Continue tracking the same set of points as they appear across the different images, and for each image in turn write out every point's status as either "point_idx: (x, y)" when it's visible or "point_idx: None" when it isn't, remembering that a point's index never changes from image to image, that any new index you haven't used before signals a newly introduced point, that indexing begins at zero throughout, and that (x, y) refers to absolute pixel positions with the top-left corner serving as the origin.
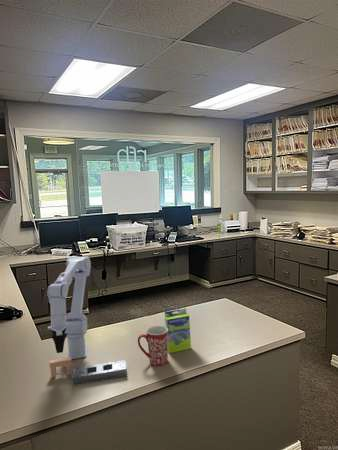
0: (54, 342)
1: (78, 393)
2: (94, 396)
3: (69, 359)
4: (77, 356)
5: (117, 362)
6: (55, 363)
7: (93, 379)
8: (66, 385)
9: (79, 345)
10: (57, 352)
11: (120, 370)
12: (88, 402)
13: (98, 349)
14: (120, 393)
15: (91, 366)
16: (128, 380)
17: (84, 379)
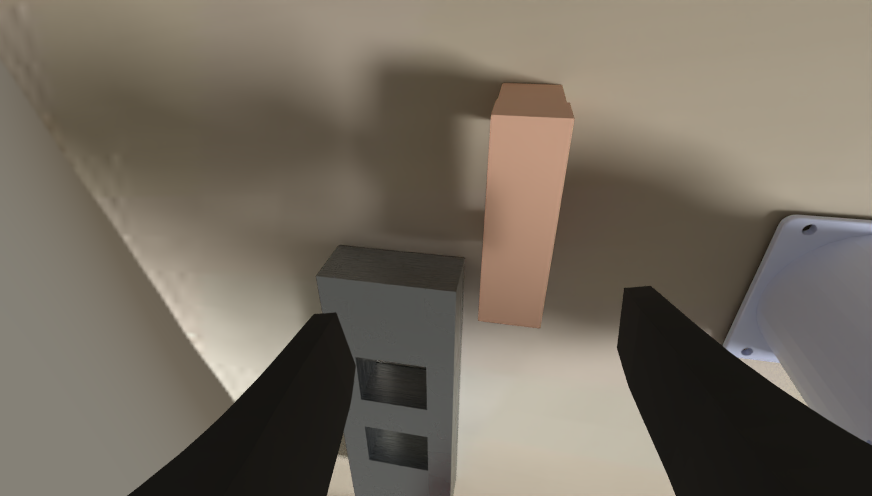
0: (169, 464)
1: (255, 268)
2: (225, 331)
3: (490, 312)
4: (762, 302)
5: (435, 490)
6: (488, 178)
7: None
8: (350, 206)
9: (810, 403)
10: (307, 326)
11: (352, 478)
12: (180, 304)
13: None
14: None
15: (438, 388)
16: None
17: None
